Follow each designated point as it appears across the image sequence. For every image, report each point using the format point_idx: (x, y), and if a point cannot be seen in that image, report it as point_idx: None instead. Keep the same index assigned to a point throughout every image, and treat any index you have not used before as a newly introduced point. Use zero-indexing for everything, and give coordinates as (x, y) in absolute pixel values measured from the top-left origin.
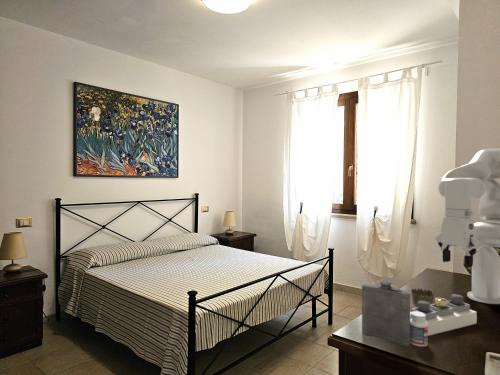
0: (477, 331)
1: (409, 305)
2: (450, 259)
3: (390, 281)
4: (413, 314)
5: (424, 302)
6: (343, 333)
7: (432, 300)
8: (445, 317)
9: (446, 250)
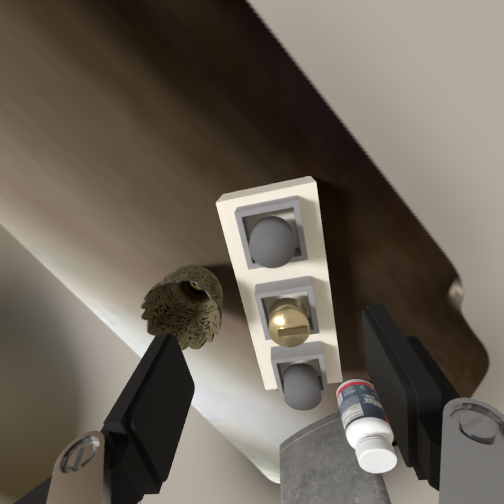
0: (356, 221)
1: None
2: (170, 343)
3: None
4: (377, 472)
5: (300, 393)
6: (277, 476)
7: (216, 288)
8: (324, 317)
9: (142, 470)
